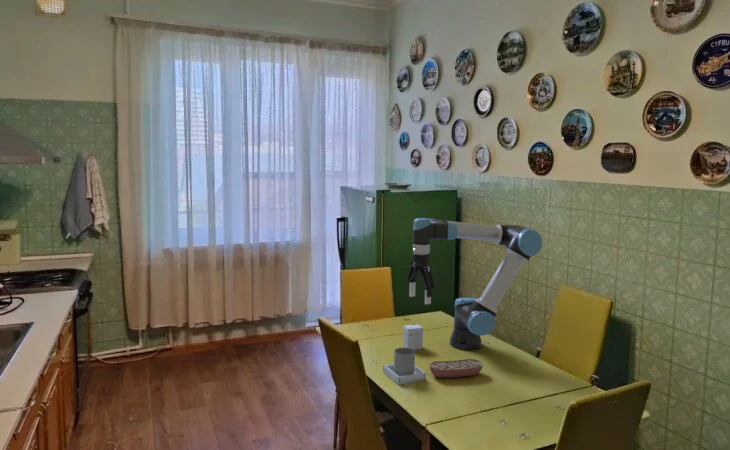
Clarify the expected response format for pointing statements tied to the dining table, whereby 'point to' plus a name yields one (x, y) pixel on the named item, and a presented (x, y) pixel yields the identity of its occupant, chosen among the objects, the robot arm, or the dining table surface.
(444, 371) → the mitochondrion model
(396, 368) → the cup
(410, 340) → the small box
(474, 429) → the dining table surface
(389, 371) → the grey tray
